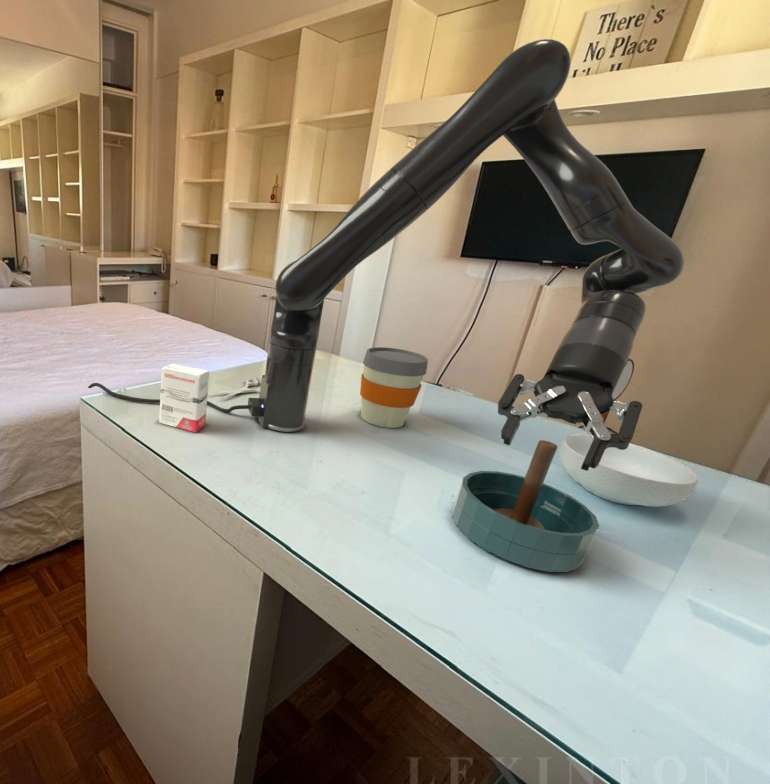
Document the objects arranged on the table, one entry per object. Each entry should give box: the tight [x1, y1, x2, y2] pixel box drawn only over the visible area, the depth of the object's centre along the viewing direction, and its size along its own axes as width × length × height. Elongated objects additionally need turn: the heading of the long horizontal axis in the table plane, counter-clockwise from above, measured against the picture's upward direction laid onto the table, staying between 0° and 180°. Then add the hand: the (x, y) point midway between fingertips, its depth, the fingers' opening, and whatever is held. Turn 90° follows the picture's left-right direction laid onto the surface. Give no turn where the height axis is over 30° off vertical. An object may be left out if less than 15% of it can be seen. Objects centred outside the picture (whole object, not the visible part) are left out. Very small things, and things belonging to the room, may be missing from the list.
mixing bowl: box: [451, 470, 600, 573], centre depth 63 cm, size 15×15×6 cm
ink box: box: [158, 363, 210, 433], centre depth 90 cm, size 8×5×12 cm, turn 63°
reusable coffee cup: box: [359, 346, 429, 429], centre depth 99 cm, size 13×13×15 cm
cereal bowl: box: [558, 433, 699, 507], centre depth 76 cm, size 17×17×7 cm
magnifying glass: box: [601, 358, 635, 424], centre depth 87 cm, size 9×2×20 cm, turn 117°
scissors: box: [209, 376, 260, 400], centre depth 112 cm, size 11×1×20 cm
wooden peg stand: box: [494, 439, 558, 530], centre depth 61 cm, size 6×6×14 cm
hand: (544, 454), depth 60 cm, fingers open, 8 cm apart
